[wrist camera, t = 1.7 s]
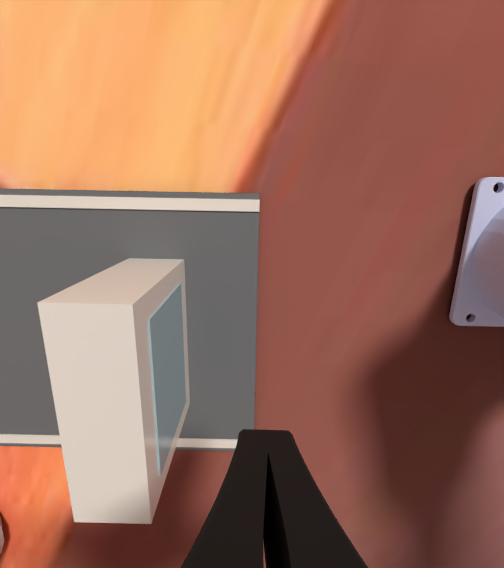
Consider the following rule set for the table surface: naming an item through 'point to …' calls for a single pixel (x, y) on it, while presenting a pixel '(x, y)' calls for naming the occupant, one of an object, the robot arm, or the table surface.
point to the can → (1, 536)
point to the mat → (108, 252)
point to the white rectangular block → (119, 385)
